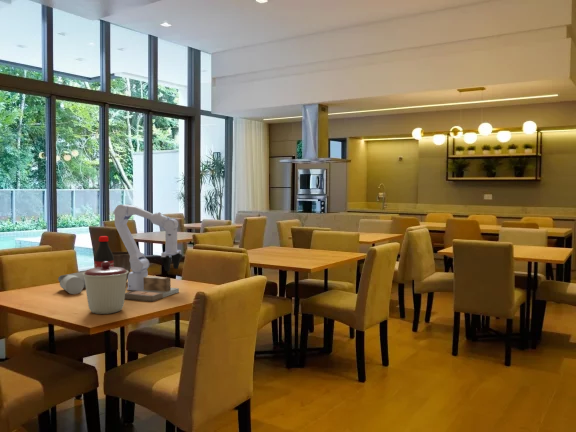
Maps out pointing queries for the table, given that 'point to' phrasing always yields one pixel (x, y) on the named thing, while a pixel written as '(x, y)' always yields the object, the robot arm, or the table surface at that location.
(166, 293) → the slate board
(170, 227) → the robot arm
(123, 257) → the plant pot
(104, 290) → the canister
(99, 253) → the cola bottle
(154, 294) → the tile right
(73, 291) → the bent grey cylinder
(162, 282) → the brown wooden block
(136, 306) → the table surface
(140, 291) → the tile left
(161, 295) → the tray
